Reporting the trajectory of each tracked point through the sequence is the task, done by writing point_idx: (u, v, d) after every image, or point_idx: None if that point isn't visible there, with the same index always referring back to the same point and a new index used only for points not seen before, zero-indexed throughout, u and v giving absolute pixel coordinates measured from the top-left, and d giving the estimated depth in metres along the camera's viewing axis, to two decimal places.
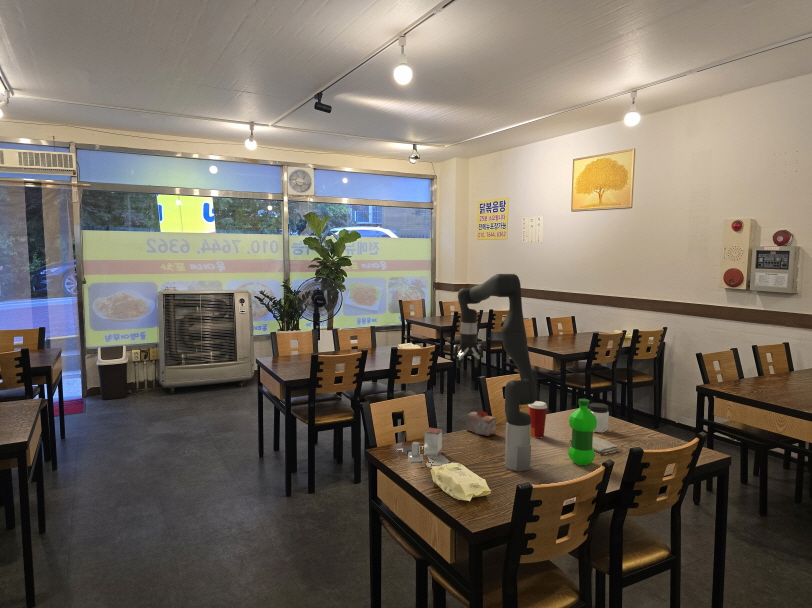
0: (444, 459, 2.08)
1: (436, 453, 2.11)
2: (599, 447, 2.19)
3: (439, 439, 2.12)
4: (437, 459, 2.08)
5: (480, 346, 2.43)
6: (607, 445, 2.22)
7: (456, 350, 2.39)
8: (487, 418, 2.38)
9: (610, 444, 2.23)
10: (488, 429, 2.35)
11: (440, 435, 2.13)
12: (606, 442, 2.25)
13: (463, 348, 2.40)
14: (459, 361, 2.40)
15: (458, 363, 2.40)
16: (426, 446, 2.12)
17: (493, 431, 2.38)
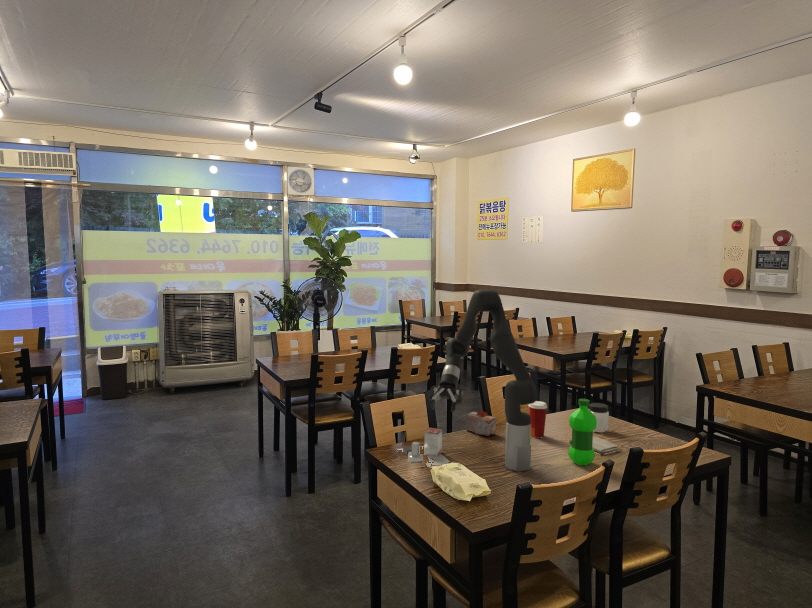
0: (444, 459, 2.08)
1: (436, 453, 2.11)
2: (599, 447, 2.19)
3: (439, 439, 2.12)
4: (437, 459, 2.08)
5: (459, 390, 2.27)
6: (607, 445, 2.22)
7: (431, 390, 2.30)
8: (487, 418, 2.38)
9: (610, 444, 2.23)
10: (488, 429, 2.35)
11: (440, 435, 2.13)
12: (606, 442, 2.25)
13: (439, 389, 2.30)
14: (432, 401, 2.27)
15: (431, 403, 2.27)
16: (426, 446, 2.12)
17: (493, 431, 2.38)
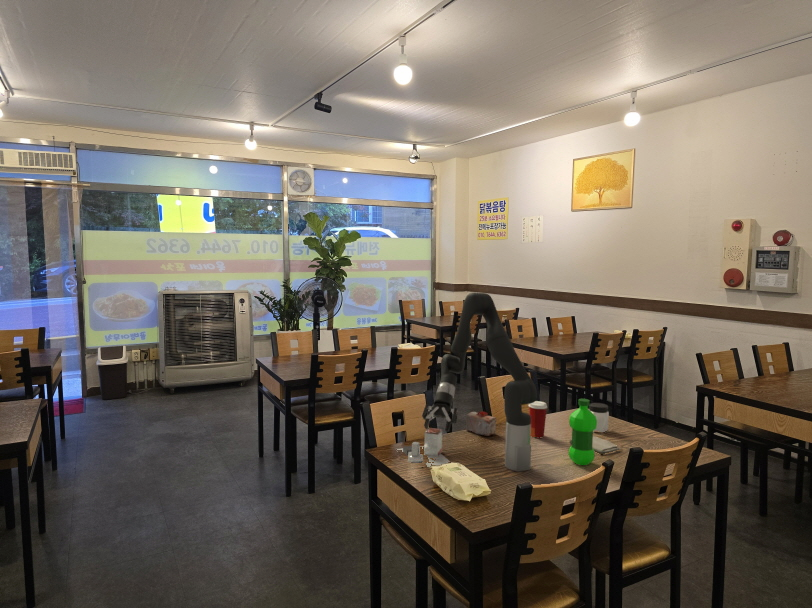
0: (444, 459, 2.08)
1: (436, 453, 2.11)
2: (600, 447, 2.19)
3: (439, 439, 2.12)
4: (437, 459, 2.08)
5: (454, 409, 2.20)
6: (607, 445, 2.22)
7: (425, 408, 2.23)
8: (487, 418, 2.38)
9: (610, 444, 2.23)
10: (488, 429, 2.35)
11: (440, 435, 2.13)
12: (606, 442, 2.25)
13: (434, 408, 2.23)
14: (426, 420, 2.20)
15: (425, 422, 2.20)
16: (426, 446, 2.12)
17: (493, 431, 2.38)
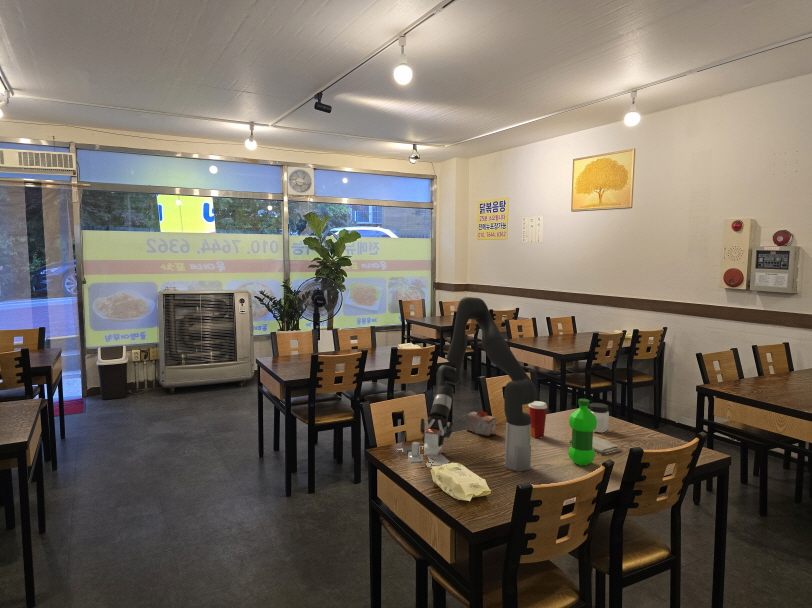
0: (444, 459, 2.08)
1: (436, 453, 2.11)
2: (600, 447, 2.19)
3: None
4: (437, 459, 2.08)
5: (450, 423, 2.15)
6: (608, 445, 2.22)
7: (422, 422, 2.18)
8: (487, 418, 2.38)
9: (610, 444, 2.23)
10: (488, 429, 2.35)
11: (440, 435, 2.13)
12: (606, 442, 2.25)
13: (429, 421, 2.18)
14: None
15: (423, 437, 2.14)
16: (425, 446, 2.12)
17: (493, 431, 2.38)
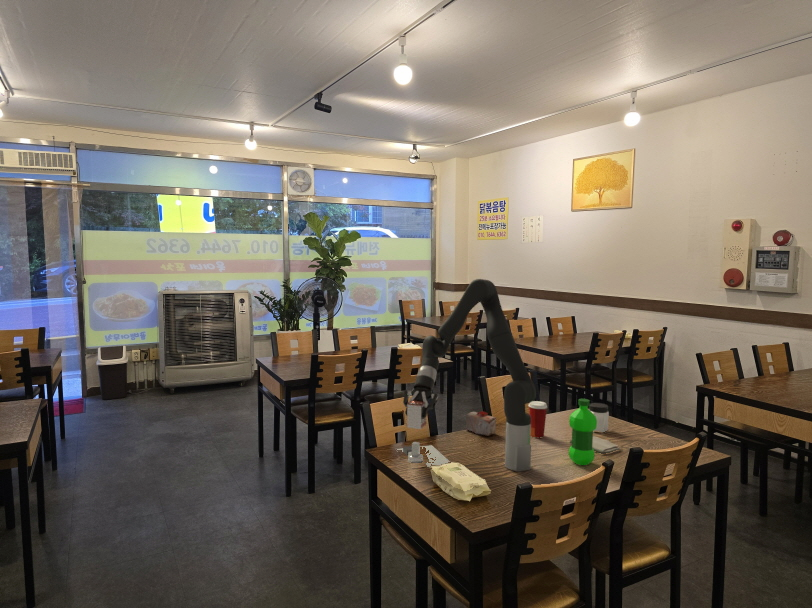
0: (444, 459, 2.08)
1: (419, 425, 2.02)
2: (601, 447, 2.19)
3: (422, 411, 2.03)
4: (437, 459, 2.08)
5: (434, 395, 2.07)
6: (608, 445, 2.22)
7: (405, 394, 2.10)
8: (487, 418, 2.38)
9: (611, 444, 2.23)
10: (488, 429, 2.36)
11: None
12: (606, 442, 2.25)
13: (413, 393, 2.09)
14: None
15: (406, 409, 2.06)
16: (408, 419, 2.04)
17: (493, 431, 2.38)
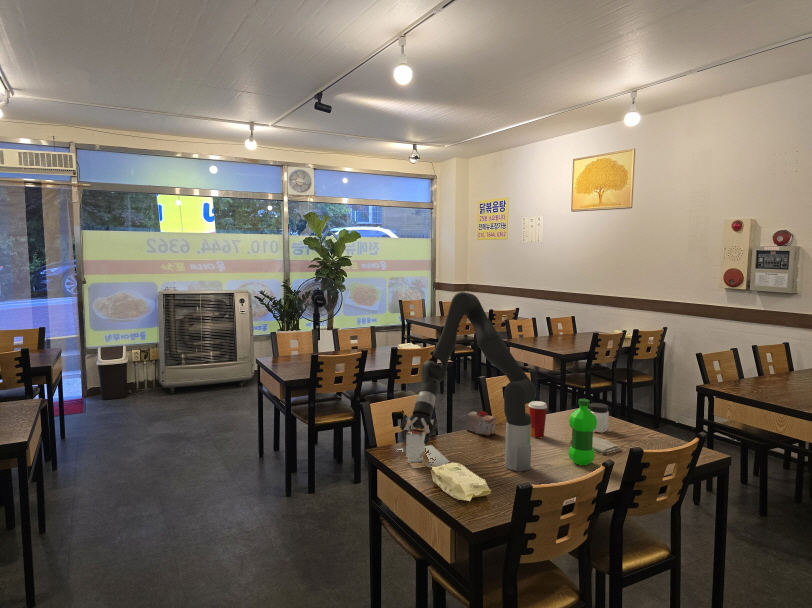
0: (444, 459, 2.08)
1: (418, 455, 2.02)
2: (601, 447, 2.19)
3: (421, 441, 2.04)
4: (437, 459, 2.08)
5: (434, 420, 2.07)
6: (608, 445, 2.22)
7: (403, 419, 2.10)
8: (487, 418, 2.38)
9: (611, 444, 2.23)
10: (488, 429, 2.36)
11: (423, 437, 2.05)
12: (607, 442, 2.25)
13: (412, 418, 2.10)
14: (404, 431, 2.07)
15: (403, 434, 2.07)
16: (407, 449, 2.04)
17: (493, 431, 2.38)
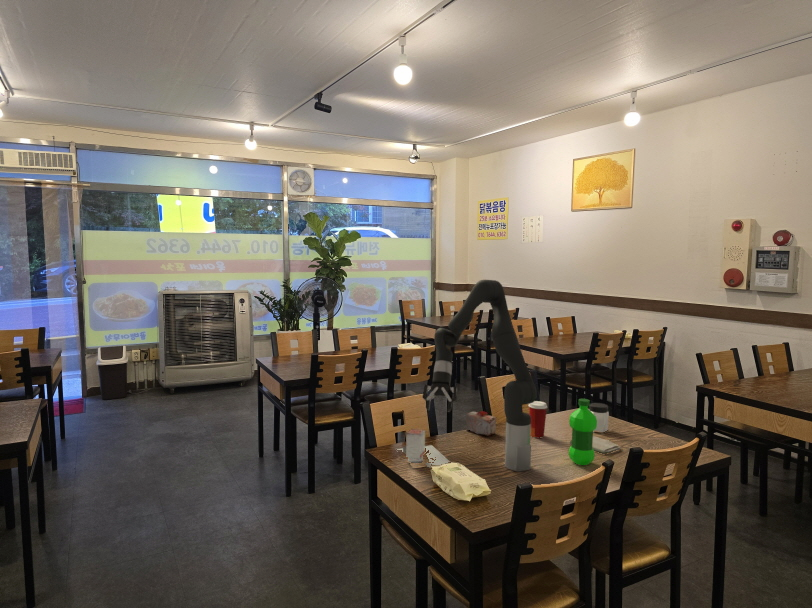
0: (444, 459, 2.08)
1: (418, 455, 2.02)
2: (602, 447, 2.19)
3: (421, 441, 2.04)
4: (437, 459, 2.08)
5: (453, 388, 2.22)
6: (608, 445, 2.22)
7: (425, 389, 2.24)
8: (487, 418, 2.38)
9: (611, 443, 2.24)
10: (488, 429, 2.36)
11: (423, 437, 2.05)
12: (607, 442, 2.25)
13: (433, 388, 2.24)
14: (427, 401, 2.22)
15: (426, 404, 2.22)
16: (407, 449, 2.04)
17: (493, 430, 2.38)
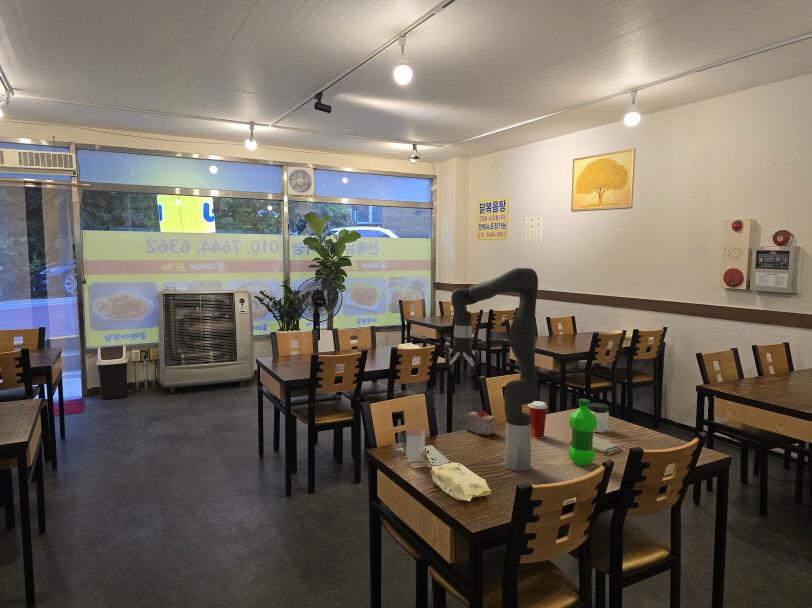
0: (444, 459, 2.08)
1: (418, 455, 2.02)
2: (602, 447, 2.19)
3: (421, 441, 2.04)
4: (437, 459, 2.08)
5: (475, 352, 2.22)
6: (609, 445, 2.23)
7: (447, 353, 2.26)
8: (487, 418, 2.38)
9: (611, 443, 2.24)
10: (489, 428, 2.36)
11: (423, 437, 2.05)
12: (607, 442, 2.25)
13: (455, 352, 2.25)
14: (450, 365, 2.26)
15: (450, 367, 2.26)
16: (407, 449, 2.04)
17: (493, 430, 2.38)
